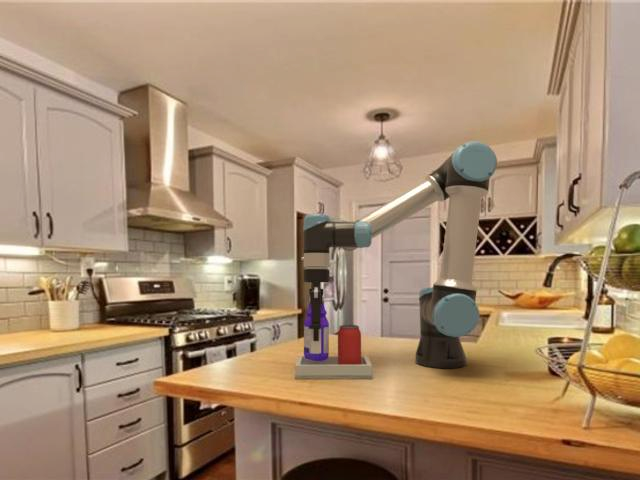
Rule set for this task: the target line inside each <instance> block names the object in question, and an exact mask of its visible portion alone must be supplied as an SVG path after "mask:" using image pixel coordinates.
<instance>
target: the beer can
mask: <svg viewBox="0 0 640 480" xmlns="http://www.w3.org/2000/svg"><path fill="white" fill-rule="evenodd" d="M337 356H338V365H361V356H362V333H361V329H360V326H359V325H356V324H344V325H343V324H342V325H339V329H338V331H337Z"/></svg>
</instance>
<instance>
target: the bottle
mask: <svg viewBox="0 0 640 480" xmlns="http://www.w3.org/2000/svg"><path fill="white" fill-rule="evenodd" d="M320 300H321V297H320ZM308 301H309V304H308V308H307V310H306V315H307V316H306V317H305V321H304V324H303V330H304V331H303V356H305V358H306V359H308V360H313V361H323V360H326V359H327V358H328V356H330V355H329V352H330V350H329V349H330V325H329V324H330V323H329V320H328V318H327V316H326V315H327V311H326V309H325V297H324V296H323V297H322V305H321V353H311V329H309V326H311V304H310V300H308Z"/></svg>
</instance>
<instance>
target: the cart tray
mask: <svg viewBox="0 0 640 480" xmlns="http://www.w3.org/2000/svg"><path fill="white" fill-rule="evenodd" d="M294 369H295V371H294V372H295V373H294V376H295V377H294V379H295V380H373V365H372V362H371V360H370V358H369V357H368V355H361V365H338V355H328V358H327V359H326V360H323V361H313V360H308V359H306V358H305V356H304V355H303V356H302V355H299V356H298V357H297V360H296V363H295V367H294Z"/></svg>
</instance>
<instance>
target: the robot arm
mask: <svg viewBox="0 0 640 480" xmlns="http://www.w3.org/2000/svg"><path fill="white" fill-rule="evenodd" d="M497 166H498V158H497V155H496V153H495V151H494V150H493V149H492V148H491V147H490V146H489V145H487V143H484V142H480V141H474V140H473V141H468V142H465V143H463V144H462V145H460V146H458V147H457V148H456V149H455V150H454V151H453V153H452V154H451V155H450V156H449V157H448V158H447V159H446V160H445V161H444V162H442V164H441V165H440V166H438V168H436V169H435V170H433V172H431V173H429V174H427V175H426V176H425V179H424V180H423V181H422V182H420V183H418V184H417V185H415V186H413V187H412V188H409V190H407V191H405V192H403V193H401V194H400V195H398V196H396V197H394V198H393V199H391V200H389V201H388V202H385V204H383V205H381V206H379V207H377V208H375V209H374V210H372V211H370V212H369V213H367V214H366V215H364V216H362V217H360V218H359V219H356V220H355V221H331V219H330V215H328V214H327V213H326V214H325V213H324V214H323V213H312V214H311V213H310V214H307V215H304V216H305V217H304V219H303V228H302V229H303V230H302V233H303V237H302V238H303V245H302V246H303V247H302V249H303V256H301V257H300V258H301V259H300V260H301V261H303V268H305V269H303V272H302V273H303V276H302V277H303V278H302V279H303V282H304V283H311V288H309V291H308V292H309V301H310V304H311V326H309V329H311V353H321V305H322V297H324V288H321V284H322V283H329V282H330V277H331V276H330V275H331V274H330V269H329V267H330V266H331V264H330V263H331V259H330V257H331V253H330V248H333V249H336V248H338V249H339V248H341V249H343V250H344V251H348V252H352V251H355V250H357V249H362V248H370V247H371V245H372V239H374V238H376V237H378V236H379V235H381V234H382V233H384V232H386V231H388V230H389V229H391V228H394V227H395V226H396V225H398V224H400V223H401V222H403V221H405V220H407V219H408V218H410V217H412V216H413V215H416V214H417V213H418V212H421V211H422V210H425V208H427V207H429V206H431V205H433V204H434V203H436V202H441V203H442V202H444V201H446V200H447V199H449V200H448V207H447V208H448V209H447V216H446V217H447V218H446V225H445V233H444V242H443V250H442V259H441V266H440V274H439V279H437V281H434V283H433V284H432V286H431V287H425V288H422V289H420V291H419V297H418V301H419V327H420V331H419V332H420V338H419V341H418V345H417V347H416V350H415V357H414V358H415V359H414V360H415V361H414V362H415V363H416V364H417V365H420V366H424V367H429V368H437V369H457V368H458V369H459V368H463V367H466V365H467V357H466V356H467V355H466V353H465V350H464V348H463V344H462V342H461V339H460V337H465V336H467V335H469V334H471V332H473V331H474V330H475V329H476V327H477V326H478V324H479V320H480V310H479V307H478V305H477V303H476V299H477V290H478V289H476V287H475V286H474V284H473V274H474V267H475V266H474V264H475V258H476V257H475V256H476V249H477V241H478V239H477V238H478V231H479V221H480V215H481V207H482V199H483V198H484V197H485V196H487V195H488V193H489V189H490V188H489V187H490V179H491V178H492V176H493V175H494V173H495V172H496V170H497ZM320 297H321V300H320Z"/></svg>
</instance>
